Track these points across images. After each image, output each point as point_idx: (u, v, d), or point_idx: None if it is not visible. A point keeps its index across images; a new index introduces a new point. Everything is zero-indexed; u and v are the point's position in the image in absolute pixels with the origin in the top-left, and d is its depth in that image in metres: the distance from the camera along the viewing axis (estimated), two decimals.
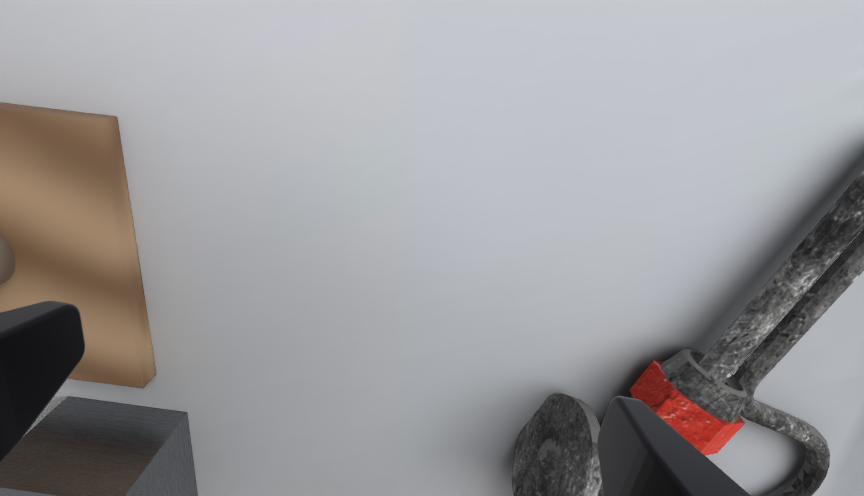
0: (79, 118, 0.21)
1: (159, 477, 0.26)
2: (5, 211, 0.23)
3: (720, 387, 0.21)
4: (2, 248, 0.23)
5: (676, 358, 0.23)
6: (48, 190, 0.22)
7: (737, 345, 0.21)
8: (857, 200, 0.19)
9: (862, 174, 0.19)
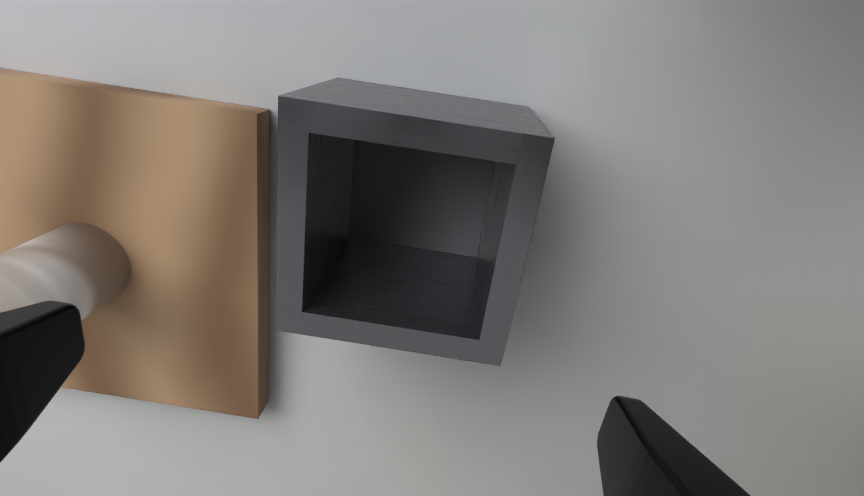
0: None
1: (365, 93, 0.15)
2: (26, 210, 0.20)
3: None
4: (63, 226, 0.19)
5: None
6: None
7: None
8: None
9: None
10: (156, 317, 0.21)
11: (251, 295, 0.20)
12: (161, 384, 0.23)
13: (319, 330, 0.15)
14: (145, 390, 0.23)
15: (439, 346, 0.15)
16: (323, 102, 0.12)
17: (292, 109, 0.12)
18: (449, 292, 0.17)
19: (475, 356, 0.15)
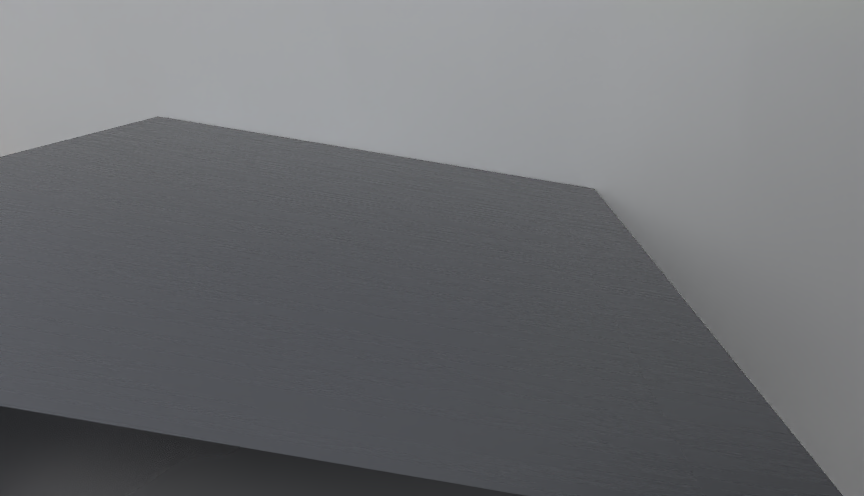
0: None
1: (140, 187, 0.05)
2: None
3: None
4: None
5: None
6: None
7: None
8: None
9: None
10: None
11: None
12: None
13: None
14: None
15: None
16: None
17: None
18: None
19: None
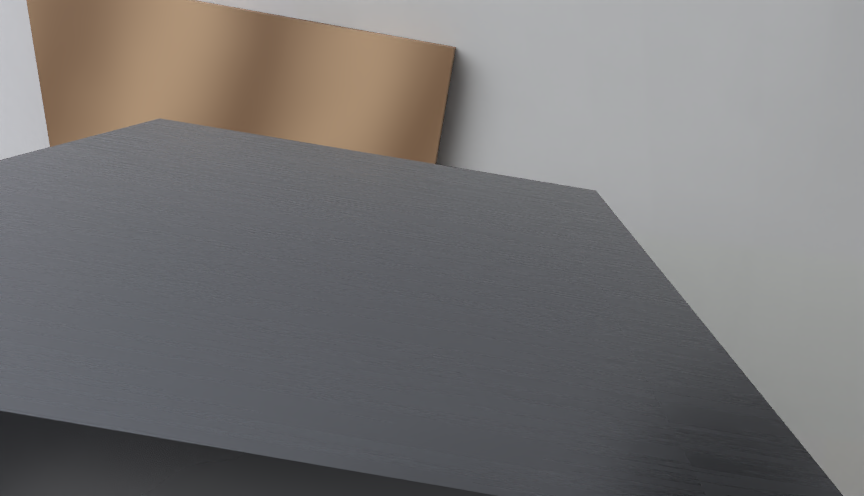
0: (29, 0, 0.16)
1: (142, 190, 0.05)
2: None
3: None
4: None
5: None
6: (133, 82, 0.17)
7: None
8: None
9: None
10: None
11: None
12: None
13: None
14: None
15: None
16: None
17: None
18: None
19: None
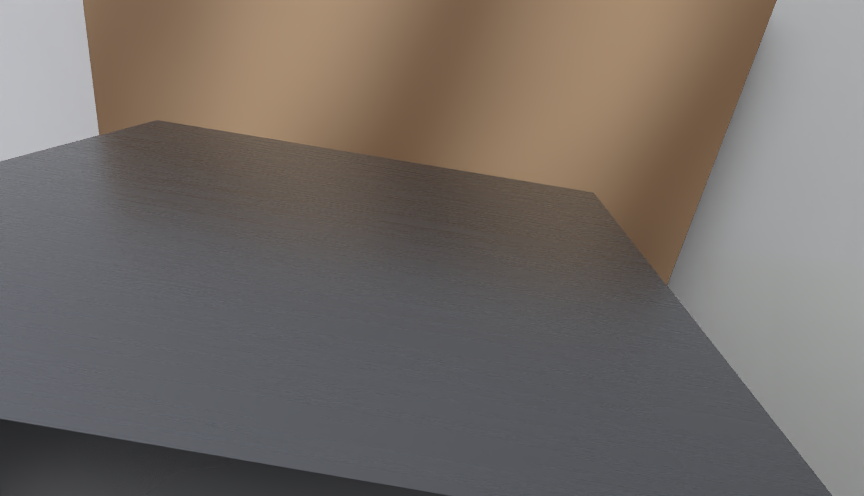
0: None
1: (138, 193, 0.05)
2: None
3: None
4: None
5: None
6: (239, 62, 0.11)
7: None
8: None
9: None
10: None
11: None
12: None
13: None
14: None
15: None
16: None
17: None
18: None
19: None
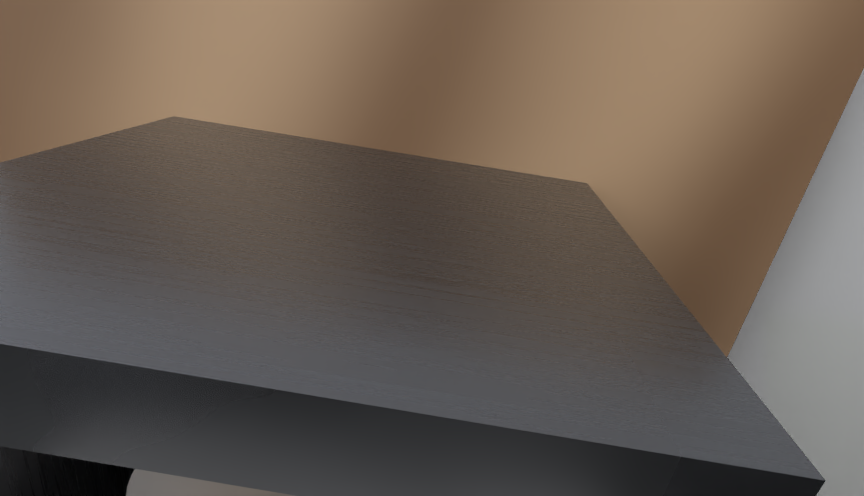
0: None
1: (165, 180, 0.05)
2: None
3: None
4: None
5: None
6: (161, 70, 0.08)
7: None
8: None
9: None
10: None
11: None
12: None
13: None
14: None
15: None
16: None
17: None
18: None
19: None
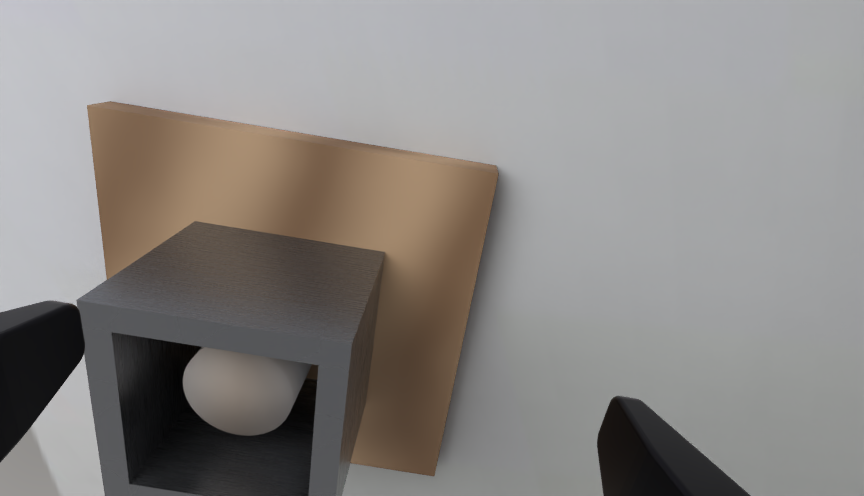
0: (92, 130, 0.17)
1: (198, 262, 0.15)
2: None
3: None
4: None
5: None
6: (190, 202, 0.18)
7: None
8: None
9: None
10: None
11: (453, 353, 0.20)
12: None
13: None
14: None
15: None
16: (123, 305, 0.12)
17: (92, 312, 0.13)
18: (300, 440, 0.17)
19: None
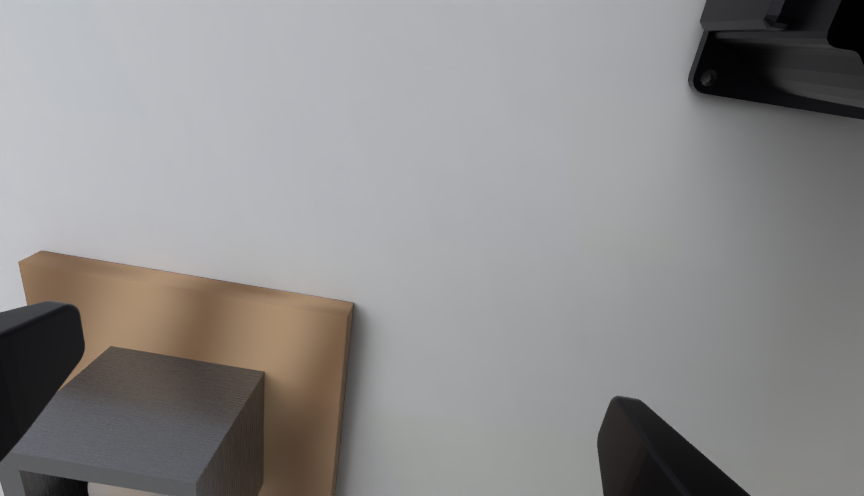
0: (24, 279, 0.21)
1: (99, 398, 0.19)
2: None
3: None
4: None
5: None
6: (105, 332, 0.22)
7: None
8: None
9: None
10: None
11: (329, 448, 0.24)
12: None
13: None
14: None
15: None
16: (26, 452, 0.17)
17: None
18: None
19: None
